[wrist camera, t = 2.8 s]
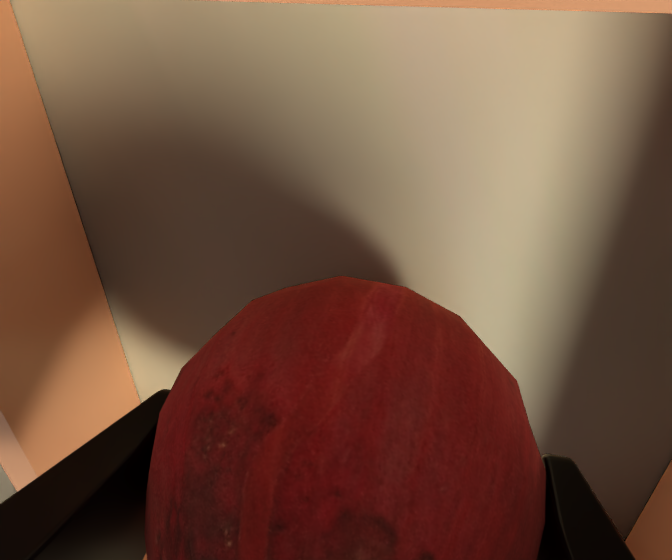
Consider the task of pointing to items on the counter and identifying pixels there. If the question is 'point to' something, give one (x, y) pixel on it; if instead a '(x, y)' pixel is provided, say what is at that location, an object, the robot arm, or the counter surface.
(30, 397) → the terracotta frame
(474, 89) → the counter surface
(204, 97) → the counter surface
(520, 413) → the onion
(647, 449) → the counter surface
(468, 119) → the counter surface
